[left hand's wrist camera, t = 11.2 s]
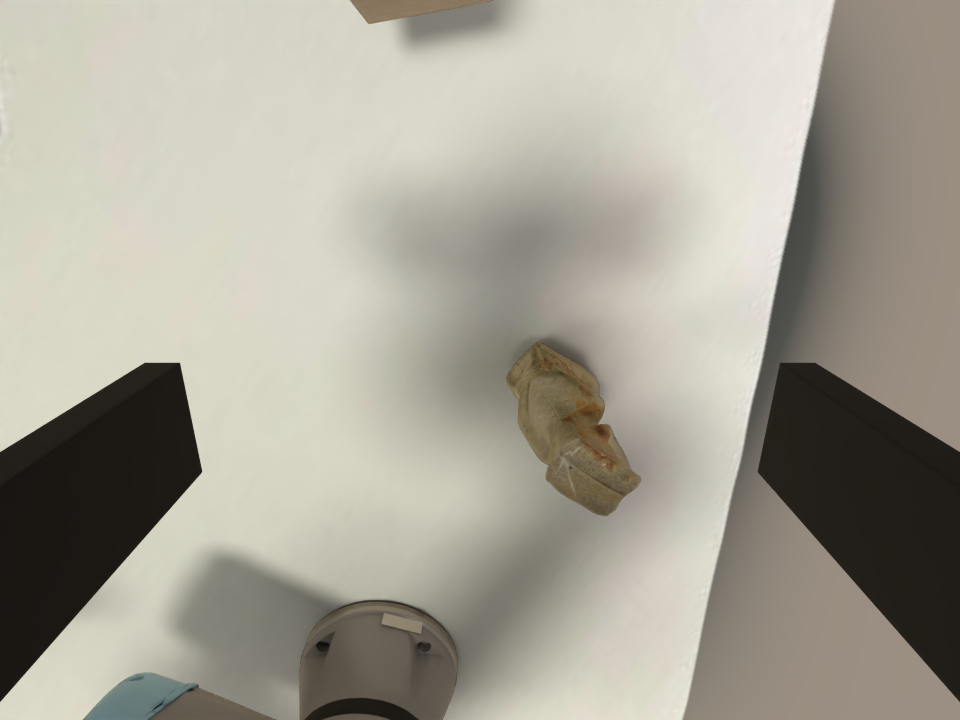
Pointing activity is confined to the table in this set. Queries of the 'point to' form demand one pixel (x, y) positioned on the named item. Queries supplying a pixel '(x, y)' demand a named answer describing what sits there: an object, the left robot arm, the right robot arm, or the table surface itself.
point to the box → (405, 8)
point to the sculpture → (570, 429)
